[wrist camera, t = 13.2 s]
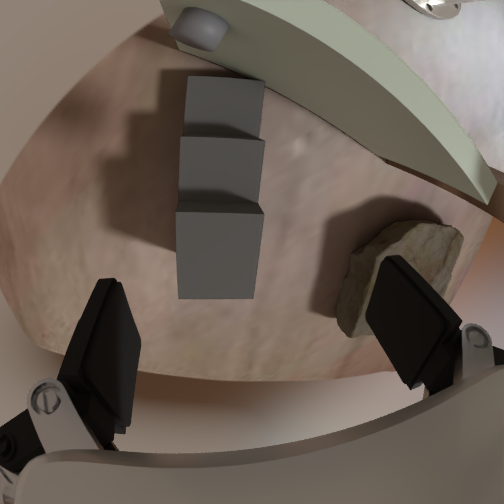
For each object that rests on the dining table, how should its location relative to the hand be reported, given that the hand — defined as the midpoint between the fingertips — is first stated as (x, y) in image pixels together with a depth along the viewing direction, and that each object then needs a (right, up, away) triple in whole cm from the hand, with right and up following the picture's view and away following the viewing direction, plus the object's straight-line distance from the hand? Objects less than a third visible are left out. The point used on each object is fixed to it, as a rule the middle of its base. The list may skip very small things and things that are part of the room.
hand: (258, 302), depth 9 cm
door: (+3, +13, +8) cm, 15 cm away
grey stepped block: (-3, +8, +11) cm, 13 cm away
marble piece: (+16, -1, +20) cm, 26 cm away
